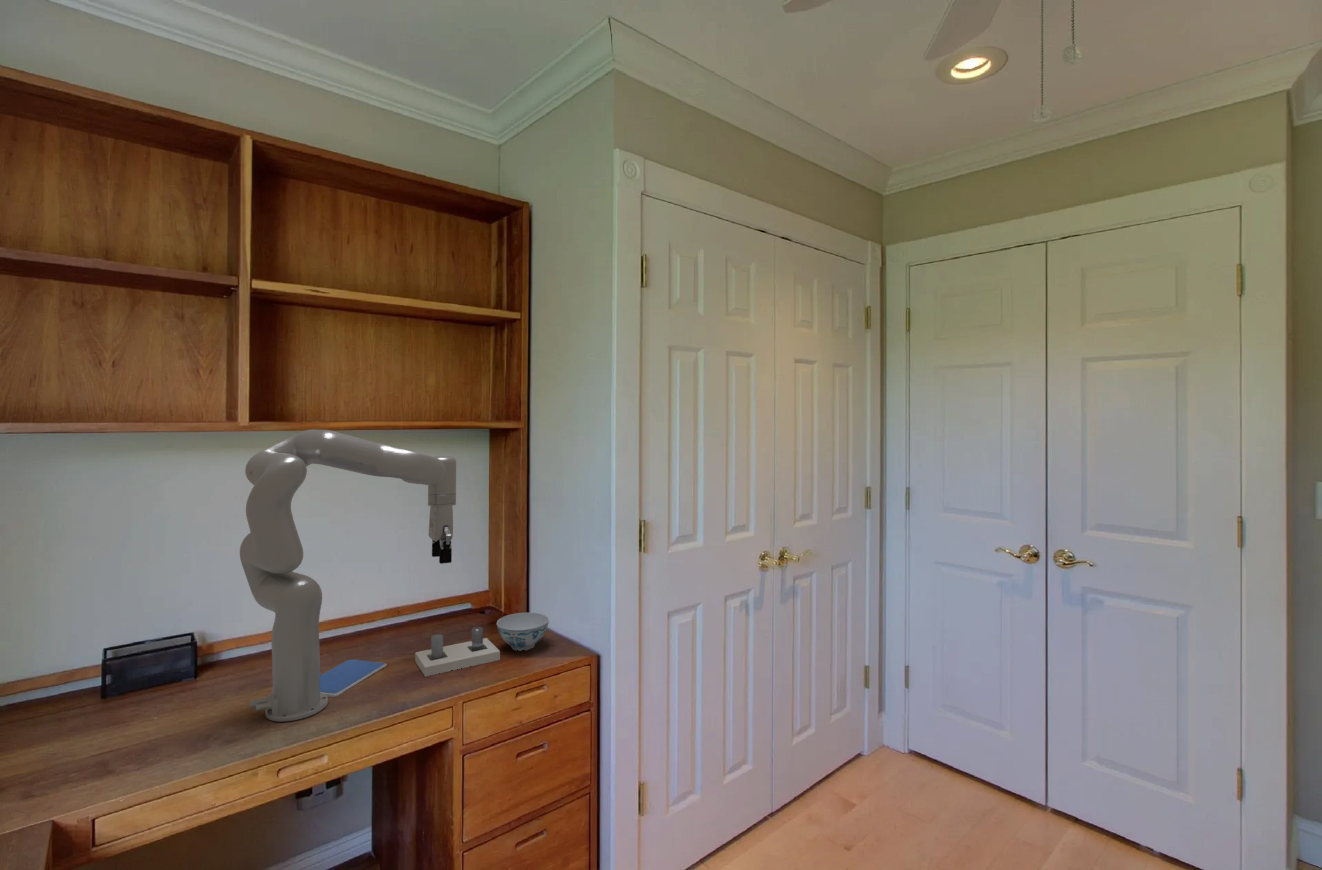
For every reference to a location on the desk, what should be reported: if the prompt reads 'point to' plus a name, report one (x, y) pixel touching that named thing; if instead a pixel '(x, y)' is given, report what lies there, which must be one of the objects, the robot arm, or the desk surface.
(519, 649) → the chinaware
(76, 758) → the desk surface
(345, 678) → the tablet computer
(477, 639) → the steel pin
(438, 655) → the pin board
